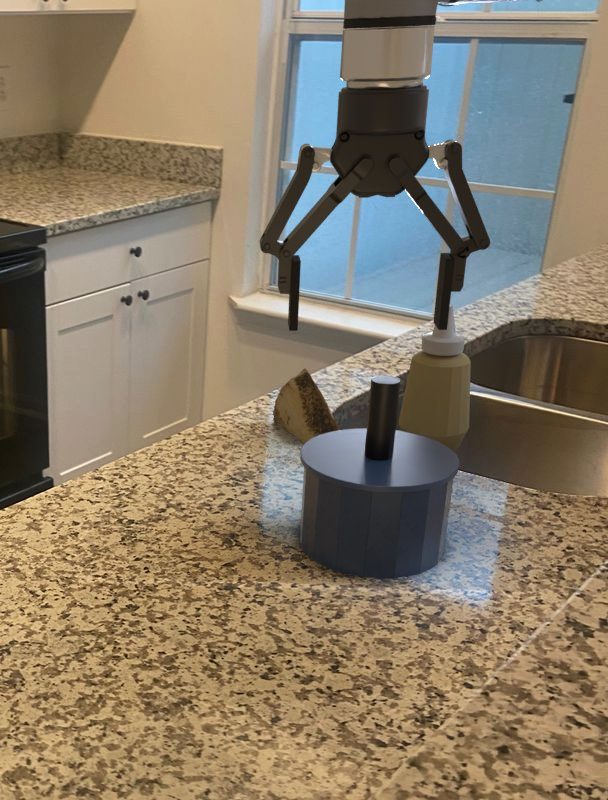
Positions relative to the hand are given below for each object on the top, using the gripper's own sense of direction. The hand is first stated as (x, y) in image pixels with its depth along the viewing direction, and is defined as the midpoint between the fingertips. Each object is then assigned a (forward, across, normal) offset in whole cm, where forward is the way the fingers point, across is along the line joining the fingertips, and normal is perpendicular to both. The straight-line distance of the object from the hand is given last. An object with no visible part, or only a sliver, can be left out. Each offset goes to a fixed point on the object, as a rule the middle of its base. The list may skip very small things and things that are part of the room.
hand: (365, 326), depth 97 cm
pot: (+21, -1, +5) cm, 22 cm away
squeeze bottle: (+22, -12, -21) cm, 32 cm away
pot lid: (+12, -1, +5) cm, 13 cm away
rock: (+22, +3, -26) cm, 34 cm away
